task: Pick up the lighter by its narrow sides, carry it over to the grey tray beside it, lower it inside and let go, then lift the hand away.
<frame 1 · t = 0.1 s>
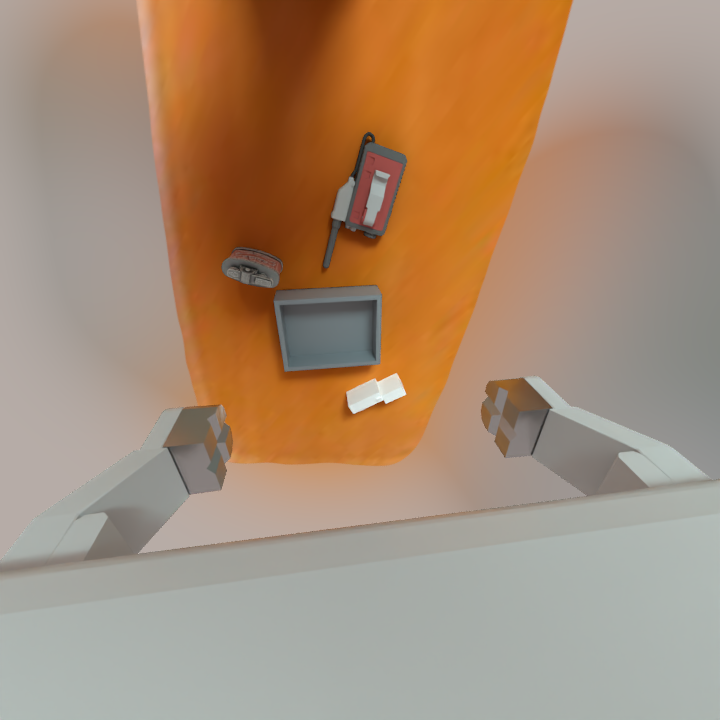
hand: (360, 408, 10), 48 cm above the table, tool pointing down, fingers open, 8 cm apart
grey tray: (329, 322, 61), on the table
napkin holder: (375, 385, 71), on the table
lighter: (258, 260, 54), on the table
walkie-talkie: (360, 210, 52), on the table
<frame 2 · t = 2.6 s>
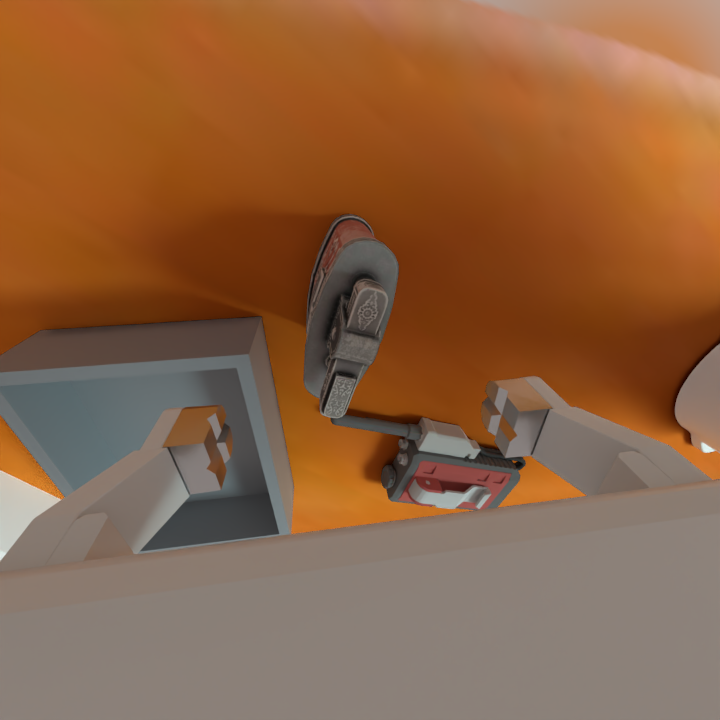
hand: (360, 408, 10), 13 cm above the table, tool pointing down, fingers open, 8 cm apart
grey tray: (193, 424, 26), on the table
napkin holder: (60, 508, 30), on the table
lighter: (337, 278, 21), on the table
walkie-talkie: (420, 449, 31), on the table
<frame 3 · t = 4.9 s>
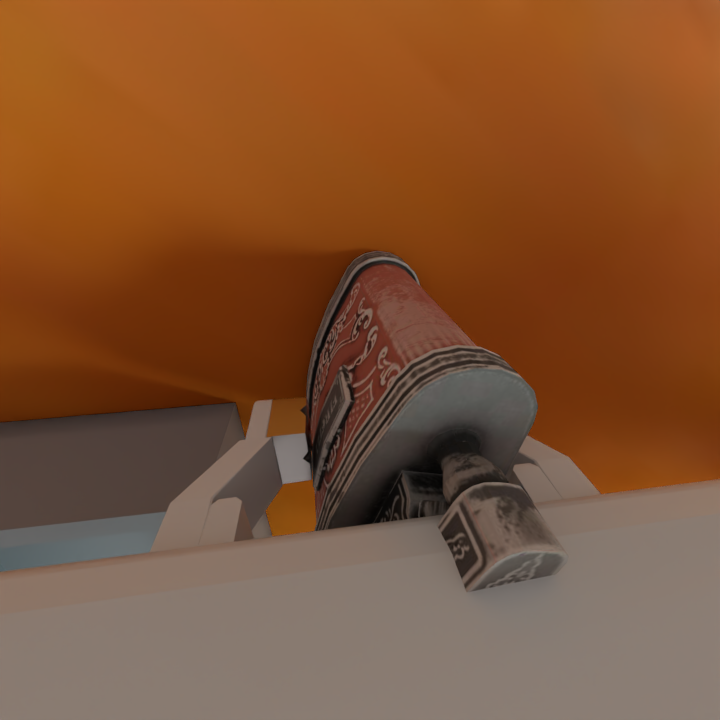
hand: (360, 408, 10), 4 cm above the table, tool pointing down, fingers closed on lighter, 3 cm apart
grey tray: (143, 538, 18), on the table
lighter: (354, 347, 13), on the table, touching gripper
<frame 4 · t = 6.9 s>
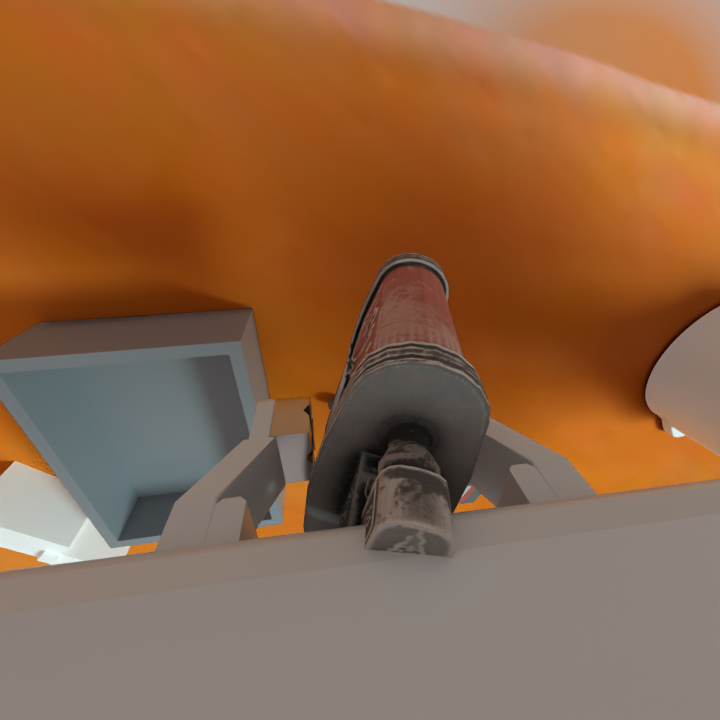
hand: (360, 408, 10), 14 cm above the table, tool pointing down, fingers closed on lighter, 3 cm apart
grey tray: (186, 414, 27), on the table
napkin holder: (83, 497, 31), on the table
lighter: (390, 345, 14), point 10 cm above the table, touching gripper
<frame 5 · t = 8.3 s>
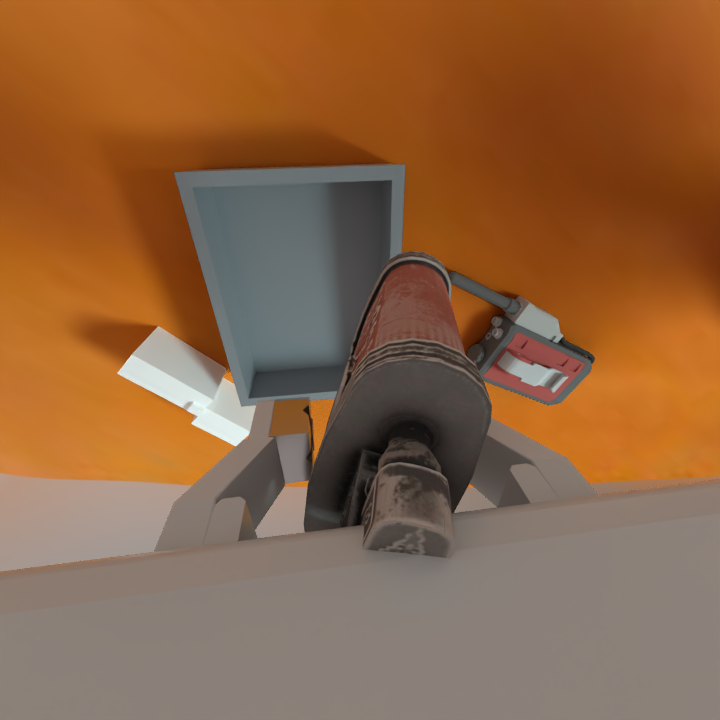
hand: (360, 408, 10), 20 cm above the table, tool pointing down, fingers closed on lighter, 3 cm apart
grey tray: (310, 284, 28), on the table
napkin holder: (208, 374, 33), on the table
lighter: (393, 344, 14), point 16 cm above the table, touching gripper
walkie-talkie: (503, 337, 34), on the table
when the fingers open (7 cm above the table, at t = 11.7 s): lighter moves 2 cm, resting on grey tray.
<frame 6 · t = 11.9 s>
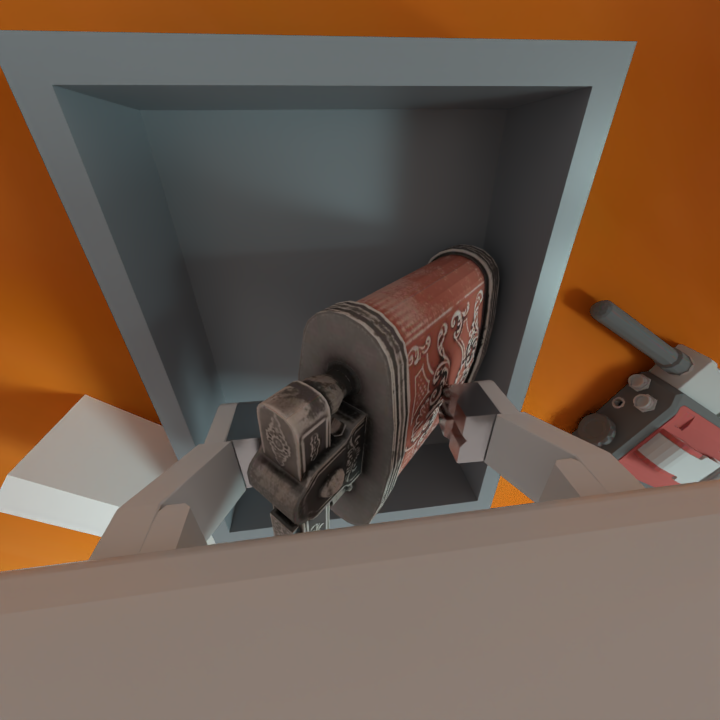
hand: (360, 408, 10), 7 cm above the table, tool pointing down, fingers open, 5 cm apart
grey tray: (342, 320, 16), on the table
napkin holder: (188, 457, 20), on the table
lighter: (450, 336, 14), point 2 cm above the table, touching gripper, grey tray
walkie-talkie: (629, 401, 22), on the table
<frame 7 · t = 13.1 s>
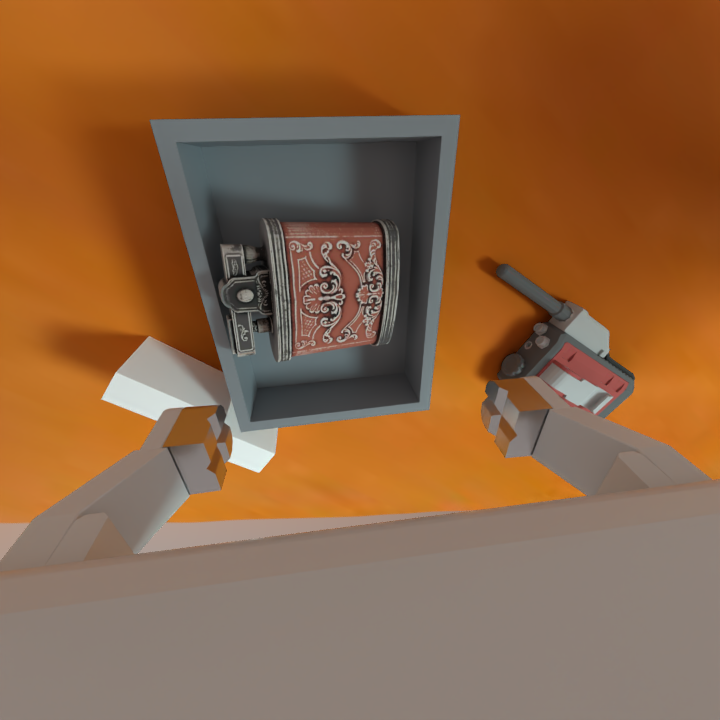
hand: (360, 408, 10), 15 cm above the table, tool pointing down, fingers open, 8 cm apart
grey tray: (324, 279, 23), on the table
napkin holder: (216, 389, 27), on the table
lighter: (387, 286, 21), point 3 cm above the table, touching grey tray
walkie-talkie: (540, 348, 30), on the table
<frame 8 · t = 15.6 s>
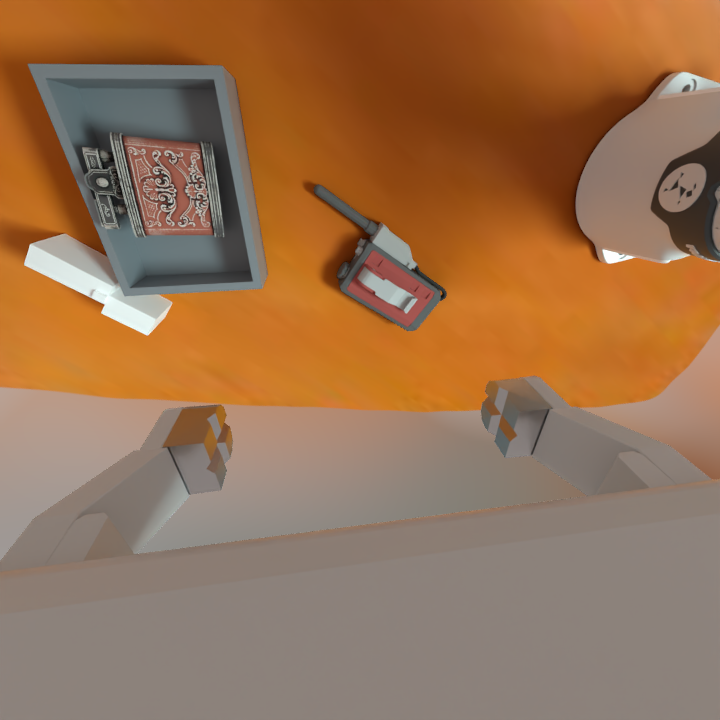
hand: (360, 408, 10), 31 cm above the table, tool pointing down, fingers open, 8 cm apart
grey tray: (185, 192, 33), on the table
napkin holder: (123, 282, 37), on the table
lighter: (220, 192, 31), point 3 cm above the table, touching grey tray
walkie-talkie: (371, 263, 40), on the table
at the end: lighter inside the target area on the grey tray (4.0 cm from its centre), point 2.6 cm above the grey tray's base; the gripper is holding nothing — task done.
